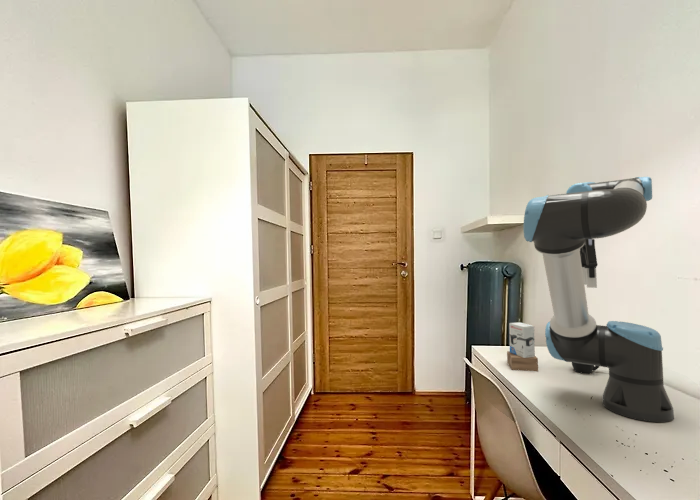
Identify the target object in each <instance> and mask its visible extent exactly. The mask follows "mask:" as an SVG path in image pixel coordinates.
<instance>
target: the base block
mask: <svg viewBox="0 0 700 500" xmlns="http://www.w3.org/2000/svg"><path fill="white" fill-rule="evenodd" d="M506 357H507V359H506V361H507V363H506V364H507V365H508V366H509V367H510V369H511V370H512V371H522V372H523V371H524V372H539V358H538V357H537V356H536V355H535V357H529V358H523V357H521V356H518V355H515V354H513V353H510V350H509V351H508V350H507V351H506Z"/></svg>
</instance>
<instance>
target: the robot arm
mask: <svg viewBox="0 0 700 500" xmlns="http://www.w3.org/2000/svg"><path fill="white" fill-rule="evenodd" d="M652 179H653V178H652V177H650V176H636V177H634V178H631V177H630V178H624V179H617V180H608V181H601V182H594V181H586V182H585V181H584V182H577V183H574V184H572V185H571V186H569V187H568V189H567V190H566V192H565V193H561V194H552V195H551V194H550V195H549V194H547V195H544V196H537V197H533V198H531V199H530V200H529V201H528V202H527V203H526V204H527V205H526V206H525V211H524V217H523V226H522V227H523V228H522V229H523V238H524V239H525V241H526V242H529V243H532V242H533V245H534V249H535V251H537V252H538V253H540V254H542V259H543V264H544V268H545V274H546V280H547V285H548V289H549V290H548V291H549V295H550V301H551V306H552V313H553V316H552V317H551V318H550V320H549V321H548V322H547V323H546V326H545V331H544V333H545V334H544V335H545V343H546V347H547V350H548V353H549V354H550V356H551V357H552V358H554V359H556V360H559V361H563V362H566V363H572V362H574V363H581V364H588V365H594V366H599V367H601V368H602V367H603V368H608V380H607V382H606V385H605V388H604V390H603V393H602V405H603V407H604V408H606V409H607V410H608V411H611V412H612V413H615V414H617V415H620V416H622V417H626V418H630V419H634V420H638V421H644V422H651V423H652V422H653V423H666V422H670V421H673V420H674V418H675V415H674V411H675V409H674V407H673V405H672V403H671V401H670V398H669V395H668V393H667V390H666V388H665V385H664V366H663V364H664V363H663V352H662V351H664V347H663V345H662V344H663V342H662V336H661V334H660V333H659V332H658V331H657V329H654V328H652V327H649V326H645V325H641V324H637V323H633V322H628V321H627V322H626V321H618V320H609V321H608V322H607V323H606V325H601V324H599V325H598V324H597V321H596V319H595V318H594V317H593V316H592V315H591V314H589V310H588V309H589V307H588V301H587V300H588V299H587V293H586V288H593V289H594V288H598V285H597V284H598V282H597V278H598V277H597V267H598V259H597V252H596V251H597V250H596V246H595V245H596V243H595V242H596V240H597V239H603V238H608V237H612V236H615V235H618V234H620V233H622V232H625V231H627V230H628V229H631V228H632V227H634V226H635V225H637V224H638V223H639V222H640V221H641V220H642V219H643V218H644V216H645V215H646V213H647V209H648V208H647V207H648V204H647V202H648V201H651V200H652V199H653V183H652V182H653V181H652ZM595 239H596V240H595ZM585 286H586V287H585Z"/></svg>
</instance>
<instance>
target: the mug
mask: <svg viewBox="0 0 700 500" xmlns="http://www.w3.org/2000/svg"><path fill="white" fill-rule="evenodd" d="M571 364H572V368H573V371H574V372H576V373H579V374H583V375H585V374H586V375H589V374H593V372H595V371H597V370H598V369H599V368H600V366H594V365H588V364H581V363H574V362H571Z"/></svg>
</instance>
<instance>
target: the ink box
mask: <svg viewBox="0 0 700 500" xmlns="http://www.w3.org/2000/svg"><path fill="white" fill-rule="evenodd" d="M508 324H509V351H510V353H513V354H515V355H518V356H521V357H523V358H529V357H535V356H536V351H535V348H536V347H535V345H536V344H535V326H534V325H532V324H528V323H524V322H519V321H518V322H509V323H508Z"/></svg>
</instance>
